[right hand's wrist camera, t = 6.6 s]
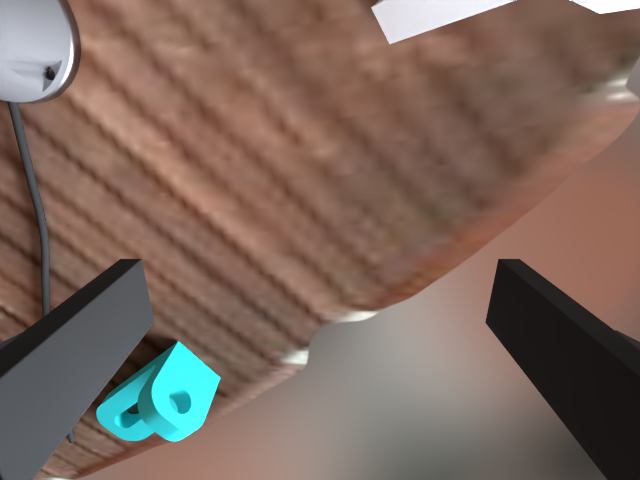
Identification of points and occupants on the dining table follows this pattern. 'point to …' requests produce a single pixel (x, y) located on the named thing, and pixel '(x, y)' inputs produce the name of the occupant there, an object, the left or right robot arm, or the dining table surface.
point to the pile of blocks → (455, 13)
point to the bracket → (161, 398)
